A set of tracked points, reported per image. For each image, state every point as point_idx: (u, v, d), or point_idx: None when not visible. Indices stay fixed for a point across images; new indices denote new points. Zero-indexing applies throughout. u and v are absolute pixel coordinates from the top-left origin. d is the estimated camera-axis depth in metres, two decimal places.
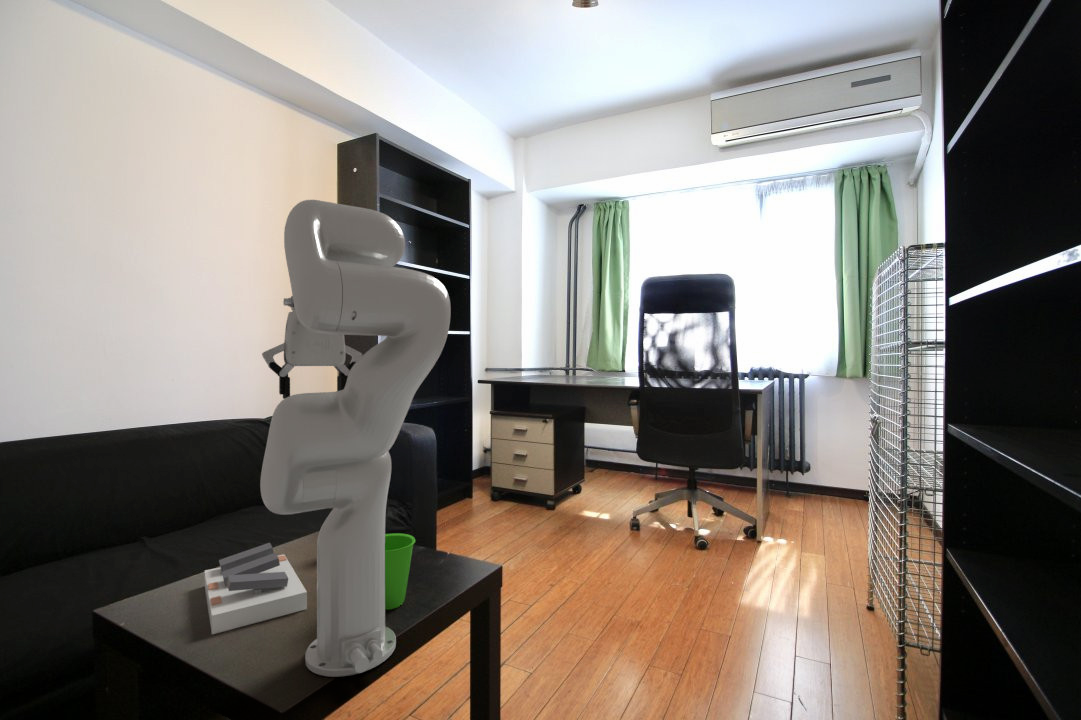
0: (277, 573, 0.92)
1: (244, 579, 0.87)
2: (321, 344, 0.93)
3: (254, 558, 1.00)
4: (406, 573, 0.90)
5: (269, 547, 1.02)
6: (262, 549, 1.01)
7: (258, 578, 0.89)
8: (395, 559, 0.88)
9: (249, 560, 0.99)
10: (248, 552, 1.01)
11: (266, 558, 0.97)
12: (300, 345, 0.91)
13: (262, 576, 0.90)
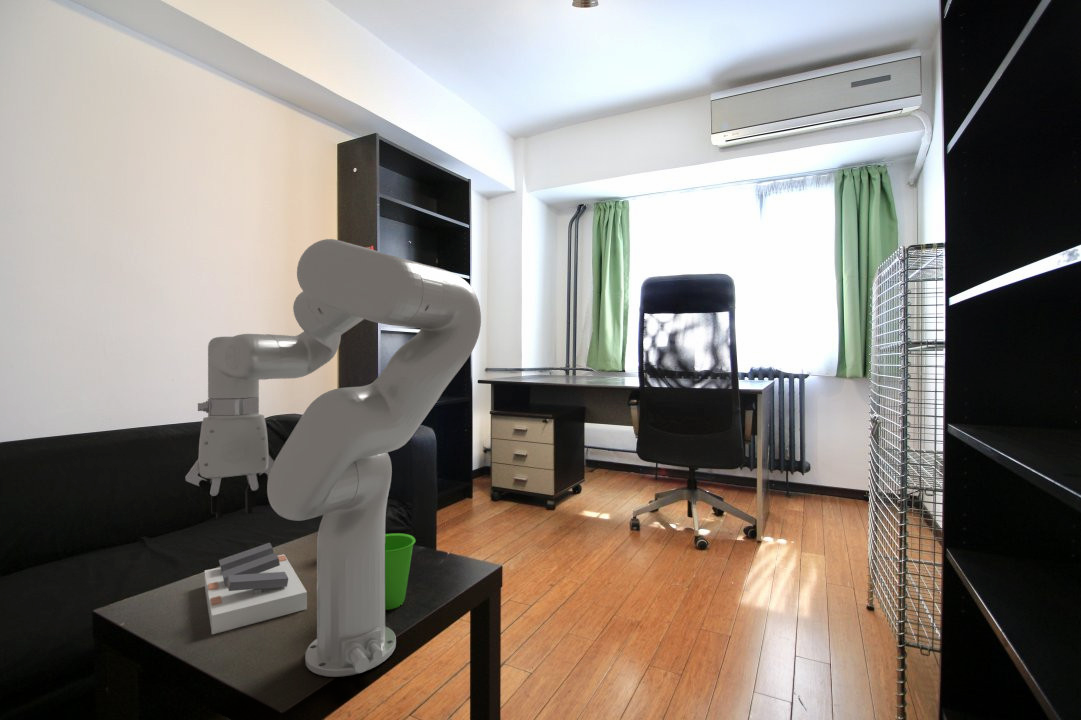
0: (277, 573, 0.92)
1: (244, 579, 0.87)
2: (239, 452, 0.85)
3: (254, 558, 1.00)
4: (406, 573, 0.90)
5: (269, 547, 1.02)
6: (262, 549, 1.01)
7: (258, 578, 0.89)
8: (395, 559, 0.88)
9: (249, 560, 0.99)
10: (248, 552, 1.01)
11: (266, 558, 0.97)
12: (214, 456, 0.83)
13: (262, 576, 0.90)
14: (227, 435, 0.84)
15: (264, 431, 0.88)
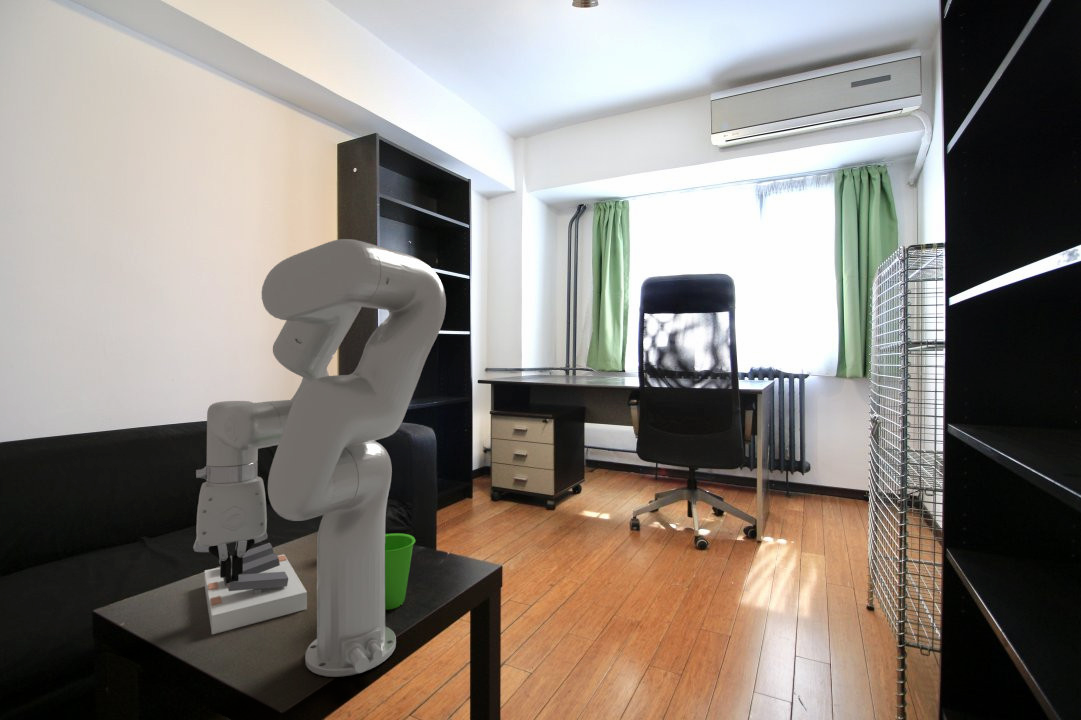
0: (277, 573, 0.92)
1: (244, 579, 0.87)
2: (237, 518, 0.85)
3: (254, 558, 1.00)
4: (406, 573, 0.90)
5: (269, 547, 1.02)
6: (262, 549, 1.01)
7: (258, 578, 0.89)
8: (395, 559, 0.88)
9: (249, 560, 0.99)
10: (248, 552, 1.01)
11: (266, 558, 0.97)
12: (212, 524, 0.83)
13: (262, 576, 0.90)
14: (225, 503, 0.84)
15: (262, 496, 0.88)
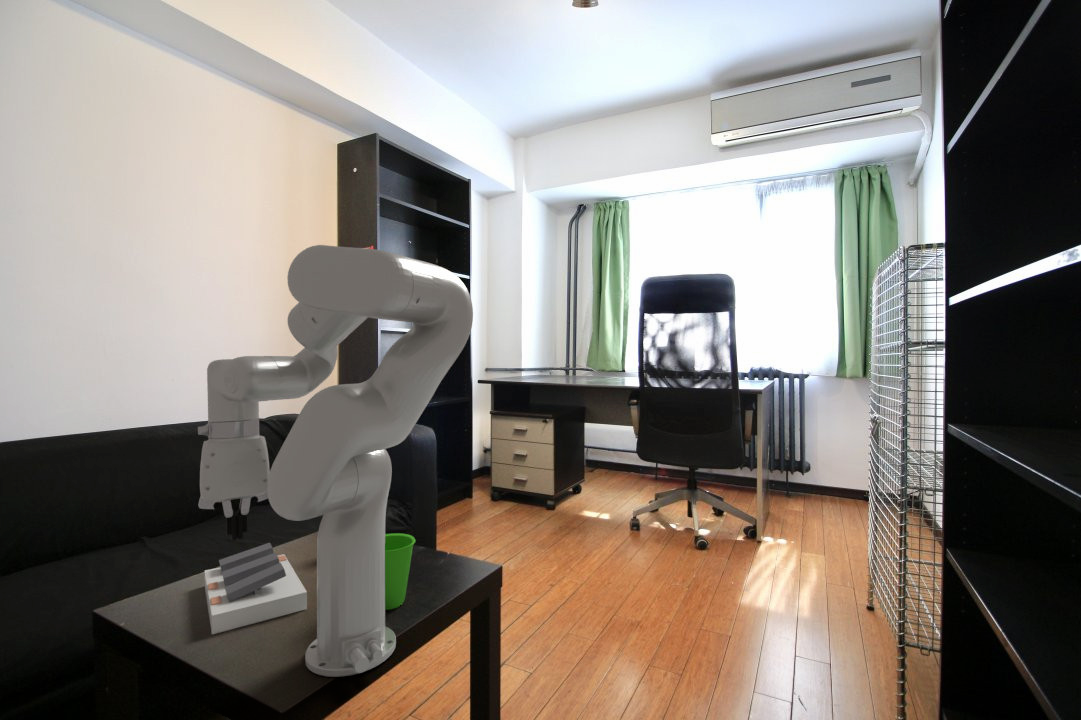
0: (273, 567, 0.92)
1: (240, 585, 0.87)
2: (241, 474, 0.85)
3: (254, 558, 1.00)
4: (406, 573, 0.90)
5: (269, 547, 1.02)
6: (262, 549, 1.01)
7: (254, 579, 0.88)
8: (395, 559, 0.88)
9: (249, 560, 0.99)
10: (248, 552, 1.01)
11: (266, 558, 0.97)
12: (216, 479, 0.83)
13: (258, 575, 0.90)
14: (228, 458, 0.84)
15: (265, 453, 0.88)
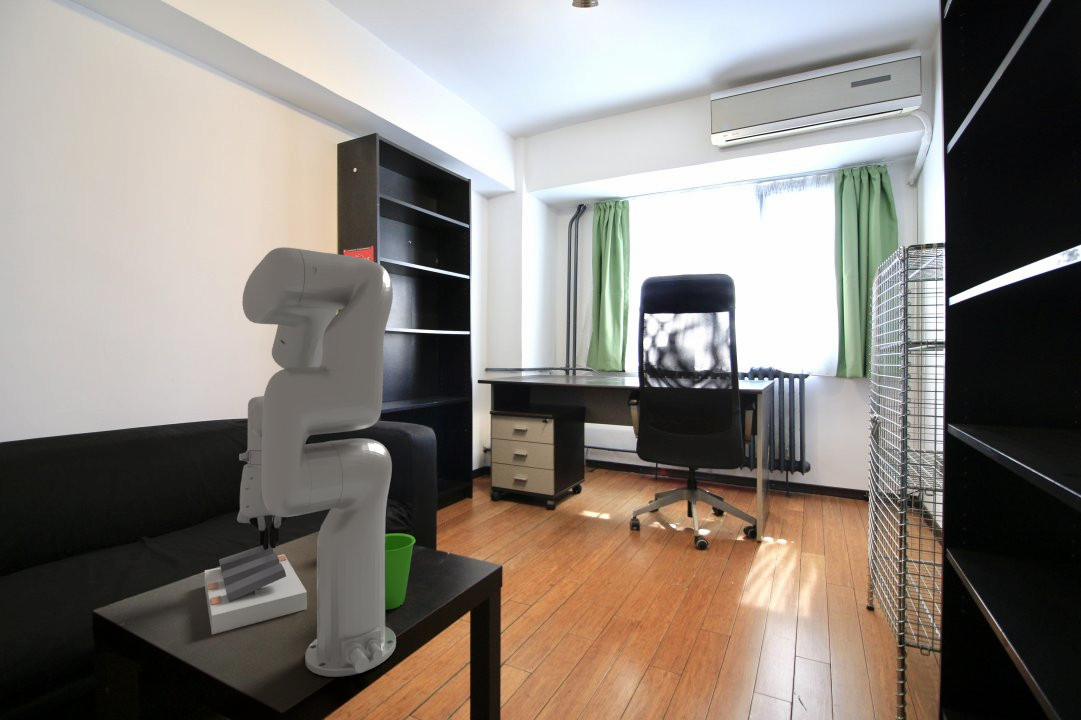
0: (273, 567, 0.92)
1: (240, 585, 0.87)
2: None
3: (254, 558, 1.00)
4: (406, 573, 0.90)
5: (269, 547, 1.02)
6: (262, 550, 1.01)
7: (254, 579, 0.88)
8: (395, 559, 0.88)
9: (249, 560, 0.99)
10: (248, 552, 1.01)
11: (266, 558, 0.97)
12: (254, 499, 0.99)
13: (258, 575, 0.90)
14: None
15: None
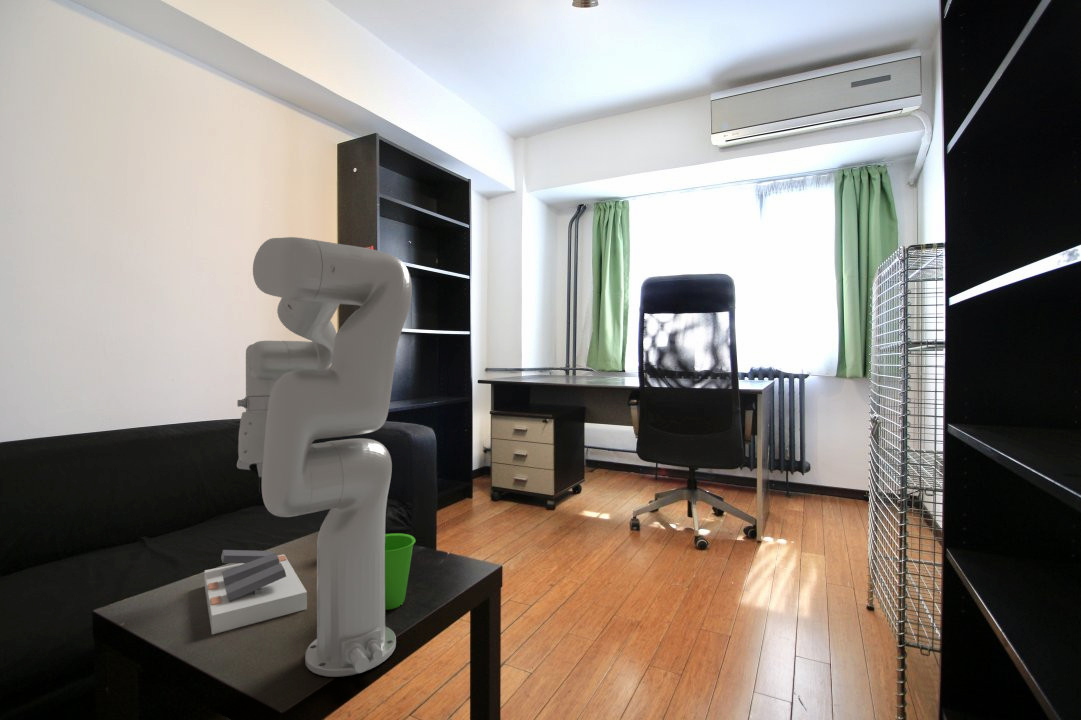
0: (273, 567, 0.92)
1: (240, 585, 0.87)
2: None
3: None
4: (406, 573, 0.90)
5: None
6: (265, 555, 1.01)
7: (254, 579, 0.88)
8: (395, 559, 0.88)
9: (250, 560, 0.99)
10: (251, 552, 1.01)
11: (266, 558, 0.97)
12: (252, 444, 0.99)
13: (258, 575, 0.90)
14: (262, 427, 1.00)
15: None
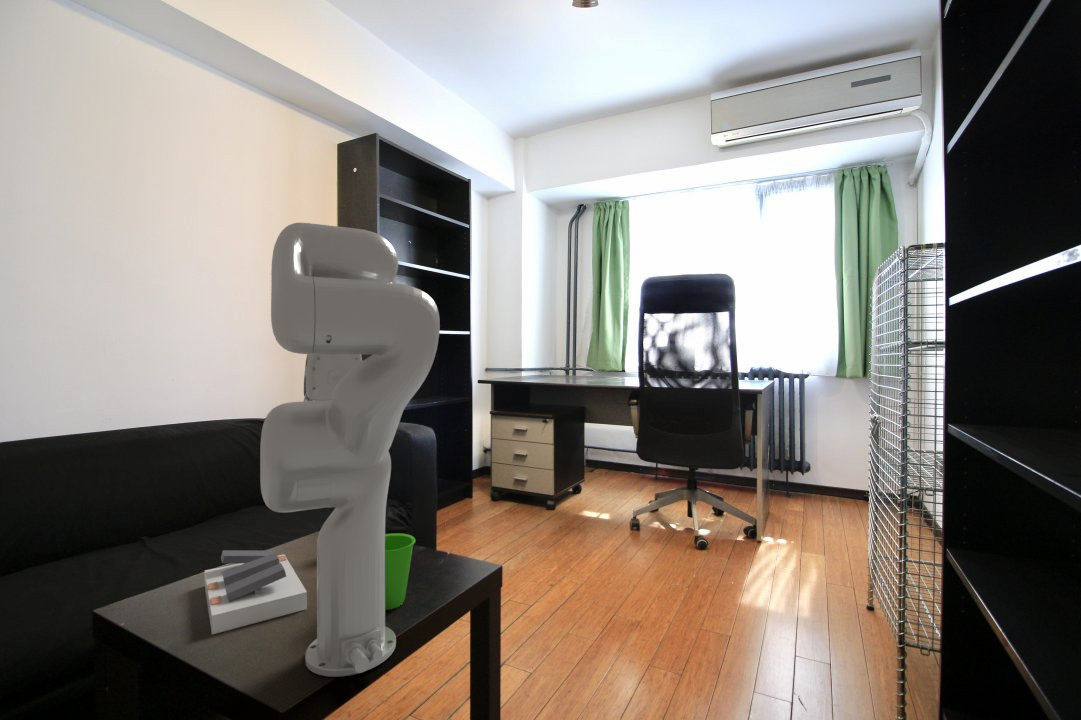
0: (273, 567, 0.92)
1: (240, 585, 0.87)
2: (341, 379, 0.93)
3: None
4: (406, 573, 0.90)
5: None
6: (265, 554, 1.01)
7: (254, 579, 0.88)
8: (395, 559, 0.88)
9: (250, 560, 0.99)
10: (251, 552, 1.01)
11: (266, 558, 0.97)
12: (320, 381, 0.91)
13: (258, 575, 0.90)
14: (331, 363, 0.92)
15: (361, 362, 0.96)
